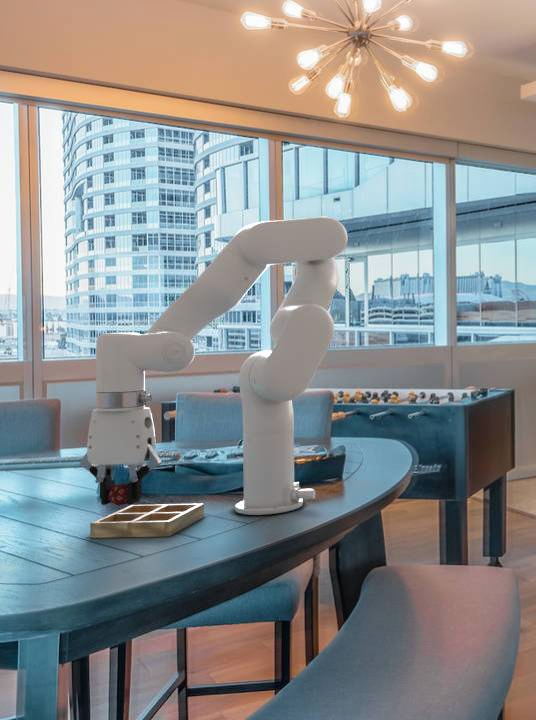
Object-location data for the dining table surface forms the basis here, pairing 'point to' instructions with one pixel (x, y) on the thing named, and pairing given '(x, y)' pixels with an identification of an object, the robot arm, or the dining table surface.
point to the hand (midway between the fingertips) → (120, 501)
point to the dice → (118, 494)
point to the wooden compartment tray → (147, 520)
